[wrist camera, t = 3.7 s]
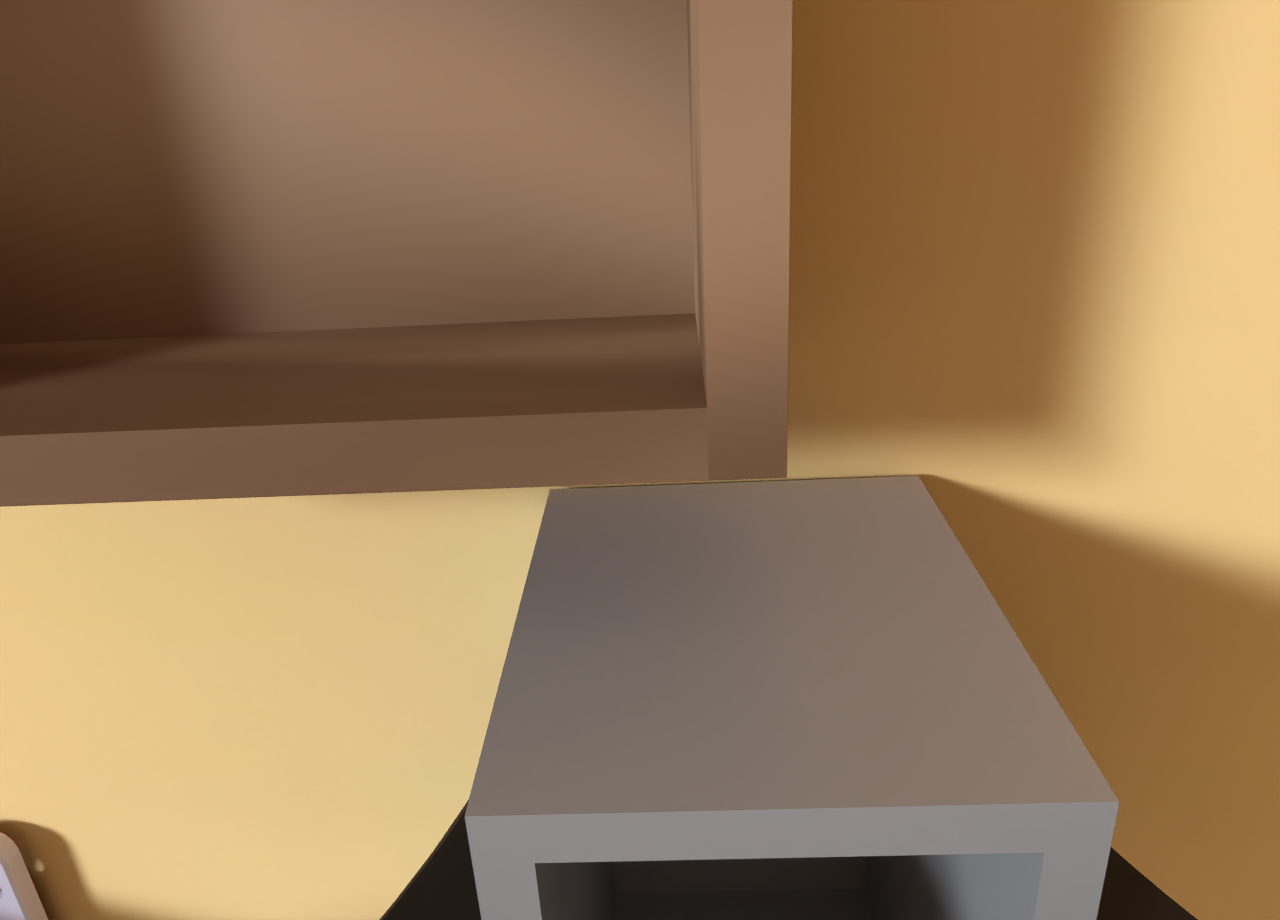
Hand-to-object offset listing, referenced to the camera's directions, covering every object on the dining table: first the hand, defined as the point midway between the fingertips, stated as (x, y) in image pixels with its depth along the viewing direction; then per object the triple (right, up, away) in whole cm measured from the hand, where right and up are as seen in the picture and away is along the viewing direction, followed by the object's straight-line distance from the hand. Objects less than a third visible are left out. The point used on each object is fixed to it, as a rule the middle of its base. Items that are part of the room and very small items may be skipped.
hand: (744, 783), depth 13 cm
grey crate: (0, +1, +2) cm, 2 cm away
